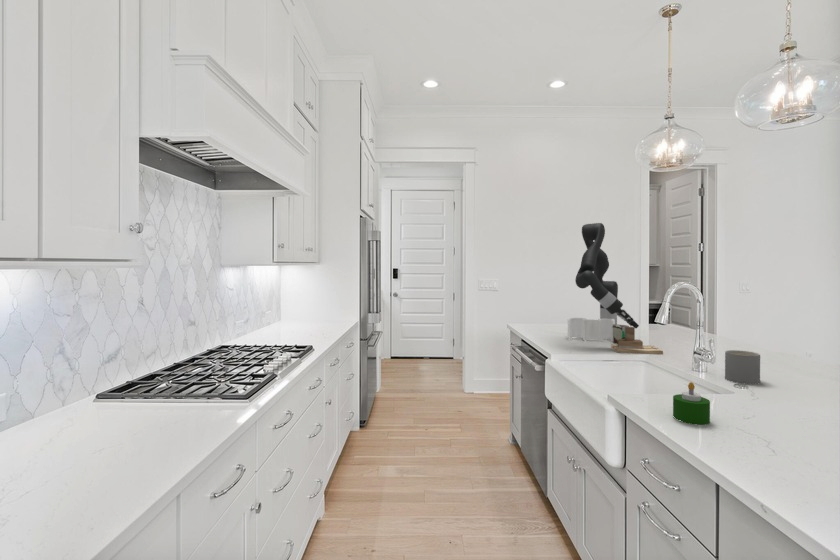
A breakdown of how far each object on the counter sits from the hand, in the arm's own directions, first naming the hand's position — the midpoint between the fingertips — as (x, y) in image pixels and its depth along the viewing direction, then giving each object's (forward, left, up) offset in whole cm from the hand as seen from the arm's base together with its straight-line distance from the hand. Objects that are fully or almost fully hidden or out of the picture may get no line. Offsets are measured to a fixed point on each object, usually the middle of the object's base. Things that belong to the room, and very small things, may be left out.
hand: (635, 326), depth 205 cm
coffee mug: (+50, +23, -12) cm, 57 cm away
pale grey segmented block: (-30, -16, -13) cm, 36 cm away
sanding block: (0, -2, -11) cm, 11 cm away
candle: (+99, -10, -12) cm, 100 cm away
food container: (-18, -2, -12) cm, 22 cm away
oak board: (0, 0, -12) cm, 12 cm away
